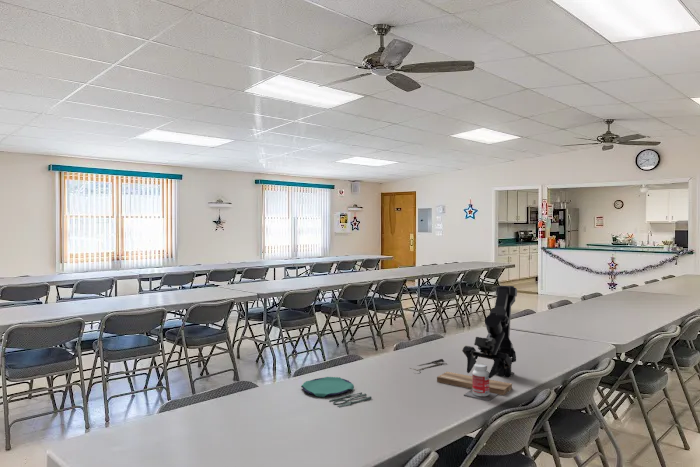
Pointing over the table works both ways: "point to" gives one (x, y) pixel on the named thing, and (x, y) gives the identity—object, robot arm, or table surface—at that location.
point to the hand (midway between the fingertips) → (478, 375)
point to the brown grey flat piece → (467, 382)
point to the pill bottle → (480, 380)
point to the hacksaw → (432, 365)
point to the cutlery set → (332, 389)
